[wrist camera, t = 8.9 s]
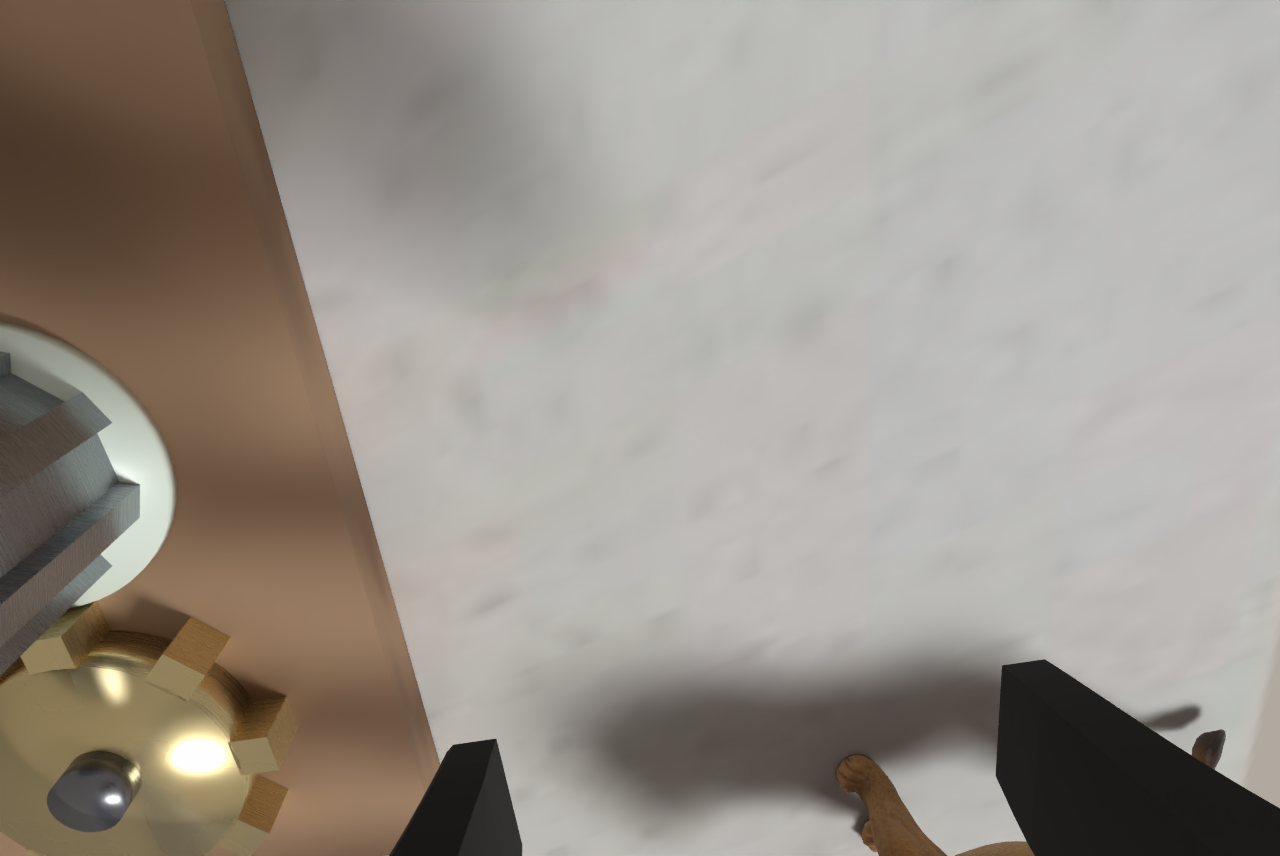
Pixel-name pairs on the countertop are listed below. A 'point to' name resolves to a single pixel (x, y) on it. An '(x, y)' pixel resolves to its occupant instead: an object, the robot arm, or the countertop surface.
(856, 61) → the countertop surface
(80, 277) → the gear board
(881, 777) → the lion figurine
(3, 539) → the grey gear
